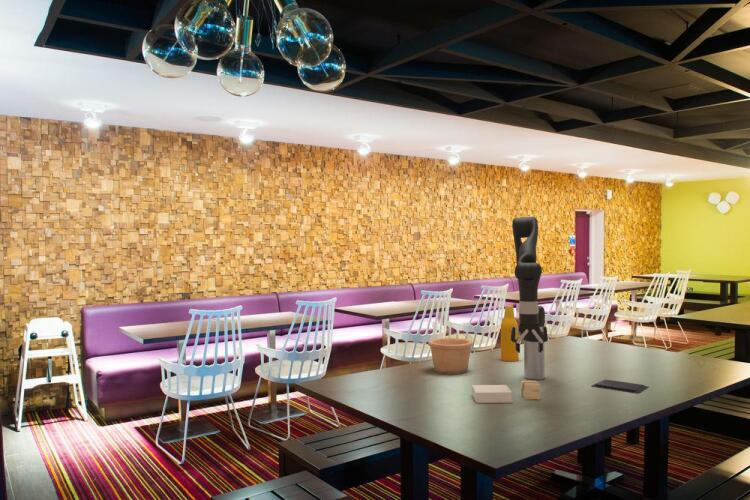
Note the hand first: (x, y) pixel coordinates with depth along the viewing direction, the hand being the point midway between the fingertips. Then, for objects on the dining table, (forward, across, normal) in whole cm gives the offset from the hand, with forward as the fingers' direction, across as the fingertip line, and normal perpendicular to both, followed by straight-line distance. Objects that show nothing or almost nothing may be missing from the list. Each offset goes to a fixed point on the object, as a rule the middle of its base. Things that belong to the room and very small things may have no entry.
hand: (529, 352), depth 229 cm
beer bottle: (+18, -6, -75) cm, 78 cm away
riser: (+18, +16, +2) cm, 24 cm away
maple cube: (+18, 0, 0) cm, 18 cm away
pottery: (+18, +27, -50) cm, 60 cm away
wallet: (+19, -42, -16) cm, 49 cm away
